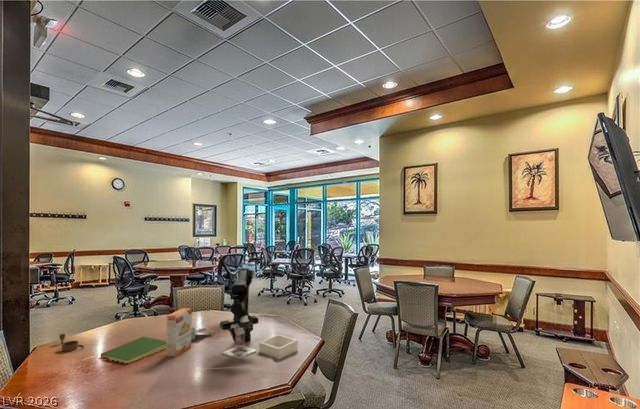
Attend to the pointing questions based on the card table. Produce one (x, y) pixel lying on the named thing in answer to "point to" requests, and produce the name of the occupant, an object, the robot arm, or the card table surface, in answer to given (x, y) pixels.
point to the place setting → (69, 345)
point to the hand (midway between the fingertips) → (239, 339)
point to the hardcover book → (135, 350)
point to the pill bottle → (239, 337)
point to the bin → (278, 346)
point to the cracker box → (178, 332)
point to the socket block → (244, 348)
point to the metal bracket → (198, 332)
